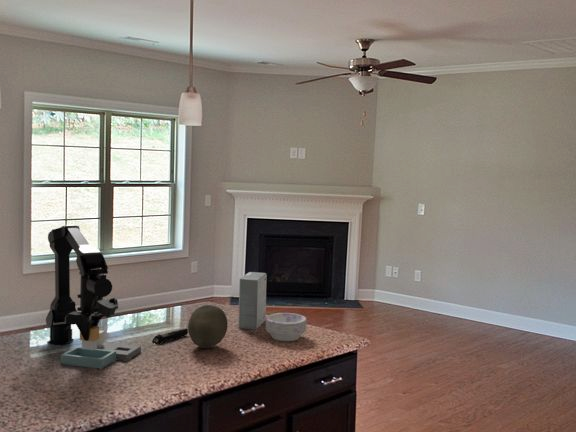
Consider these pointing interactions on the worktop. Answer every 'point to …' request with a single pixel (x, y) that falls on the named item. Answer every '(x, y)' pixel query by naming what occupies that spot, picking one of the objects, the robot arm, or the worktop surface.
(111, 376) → the worktop surface
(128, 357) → the block
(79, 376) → the worktop surface
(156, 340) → the electric trimmer
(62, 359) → the parts tray
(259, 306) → the hard drive box
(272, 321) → the paper bowls
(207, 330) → the cantaloupe
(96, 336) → the block
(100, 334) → the block
